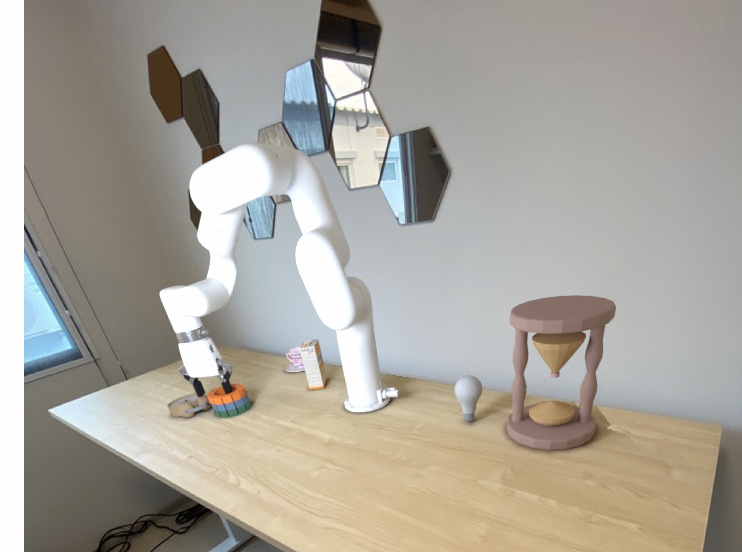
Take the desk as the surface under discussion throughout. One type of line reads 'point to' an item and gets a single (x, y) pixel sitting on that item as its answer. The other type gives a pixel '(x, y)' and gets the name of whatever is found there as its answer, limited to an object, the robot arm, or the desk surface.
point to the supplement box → (313, 364)
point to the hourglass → (557, 367)
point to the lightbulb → (468, 395)
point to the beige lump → (188, 405)
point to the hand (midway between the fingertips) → (215, 394)
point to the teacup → (294, 360)
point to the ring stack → (232, 407)
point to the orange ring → (219, 397)
